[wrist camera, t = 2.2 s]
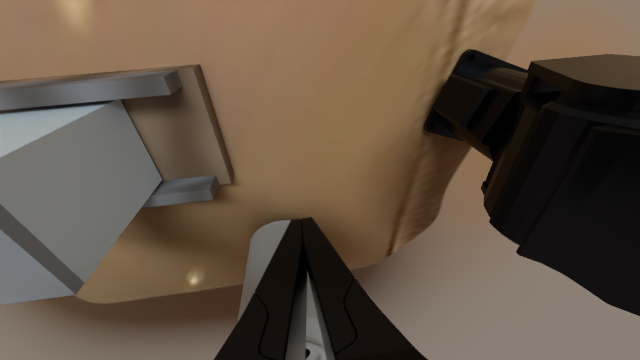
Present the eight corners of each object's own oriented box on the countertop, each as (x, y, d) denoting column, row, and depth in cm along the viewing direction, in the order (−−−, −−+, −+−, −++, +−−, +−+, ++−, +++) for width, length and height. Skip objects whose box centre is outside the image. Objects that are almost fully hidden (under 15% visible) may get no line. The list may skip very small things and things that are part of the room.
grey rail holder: (199, 64, 17) (174, 78, 13) (234, 173, 22) (223, 206, 18) (-53, 85, 16) (-157, 108, 12) (46, 195, 21) (-6, 233, 17)
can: (303, 265, 30) (311, 386, 20) (243, 254, 28) (219, 385, 18) (329, 223, 27) (353, 346, 17) (262, 206, 24) (245, 338, 14)
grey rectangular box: (119, 98, 16) (-53, 183, 8) (162, 179, 19) (75, 294, 11) (20, 107, 15) (-267, 206, 7) (83, 188, 19) (-63, 313, 11)
